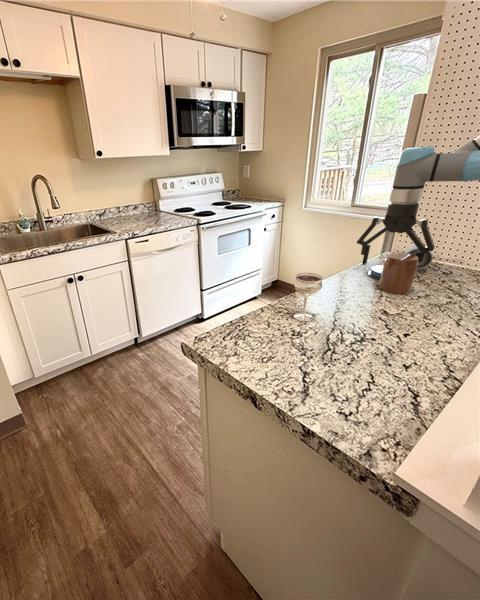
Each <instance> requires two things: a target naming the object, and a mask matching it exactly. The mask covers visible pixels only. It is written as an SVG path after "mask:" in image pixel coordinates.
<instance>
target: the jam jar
mask: <svg viewBox="0 0 480 600" xmlns="http://www.w3.org/2000/svg"><path fill="white" fill-rule="evenodd" d="M418 260H419V259H418V257H417V256H415V255H411V254H405V252H392V253H389V254H387V257H386V258H385V259H384V262H383V265H384V266H383V270H382V274H381V278H380V280H379V283H378V286H377V287H378V289H379V290H381V291H383V292H386V293H389V294H395V295H404V294H409V293H410V292H411V291H412V288H413V284H414V281H415V277H416V274H417V271H418V270H417V268H418V264H419V263H418V262H417V261H418Z"/></svg>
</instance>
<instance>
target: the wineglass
mask: <svg viewBox="0 0 480 600" xmlns="http://www.w3.org/2000/svg"><path fill="white" fill-rule="evenodd" d="M294 278H295V280H294V282H293V287H294V290H295V291H296V292H297V293H298V294H299V295H301V296H303V298H304V299H303V301H304V302H303V308H302V309H303V310H302V312H295V313H294V314H293V318H294V319H295V320H297V321H300V322H311V321H312V320H313V319H314V316H313V315H311V314H310V313H306V309H307V303H308V298H309V297H311V296H315V295H317V294H318V293H320V291H321V290H322V289H323V280H324V276H323V275H321V274H319V273H314V272H300V273H297V274H295V275H294Z"/></svg>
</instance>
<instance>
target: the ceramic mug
mask: <svg viewBox="0 0 480 600" xmlns="http://www.w3.org/2000/svg"><path fill="white" fill-rule="evenodd" d="M425 247H427V245H425ZM418 250H419V249H418V248H417V246H416V245H415V244H413V245H411V246H409V247H408V248H407V249H406V250H405V251H404V253H405V254H411V255H415V256H416V253H417V251H418ZM433 259H434V256H433V252H432V251H427V252H425V255H424V258H423V261H422V262H418V263H419V264H418V268H417V271H420V270H423V269H426V268H428V267H429V266H430V265H431V264H432V262H433Z"/></svg>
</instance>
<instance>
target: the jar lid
mask: <svg viewBox="0 0 480 600" xmlns="http://www.w3.org/2000/svg"><path fill="white" fill-rule="evenodd" d="M383 266H384V264H383V265H382V264H381V265H380V264H379V265H374V266H372V267H371V269H370V271H371V272H370V273H371V275H373V276H375V277H378V278H381V274H382V270H383Z"/></svg>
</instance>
